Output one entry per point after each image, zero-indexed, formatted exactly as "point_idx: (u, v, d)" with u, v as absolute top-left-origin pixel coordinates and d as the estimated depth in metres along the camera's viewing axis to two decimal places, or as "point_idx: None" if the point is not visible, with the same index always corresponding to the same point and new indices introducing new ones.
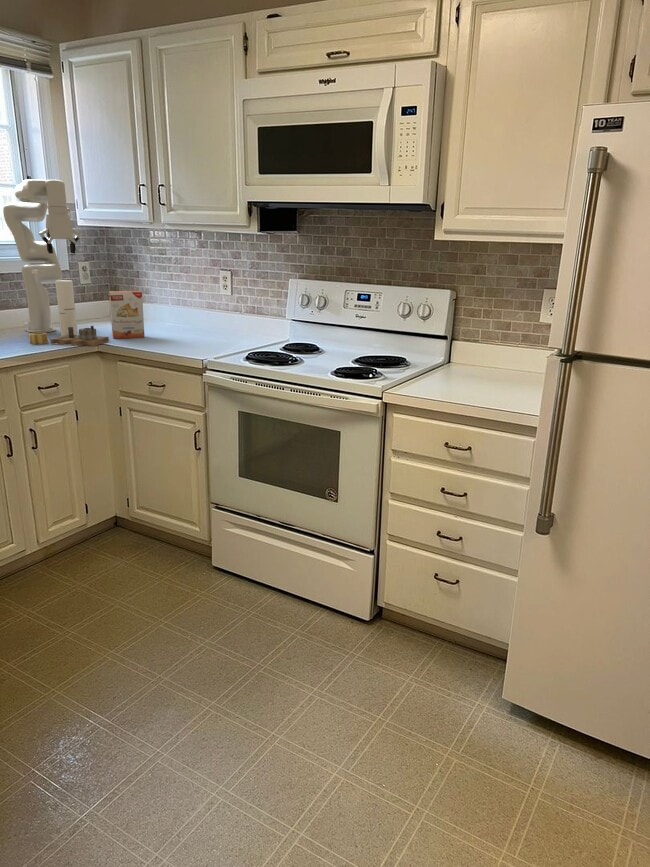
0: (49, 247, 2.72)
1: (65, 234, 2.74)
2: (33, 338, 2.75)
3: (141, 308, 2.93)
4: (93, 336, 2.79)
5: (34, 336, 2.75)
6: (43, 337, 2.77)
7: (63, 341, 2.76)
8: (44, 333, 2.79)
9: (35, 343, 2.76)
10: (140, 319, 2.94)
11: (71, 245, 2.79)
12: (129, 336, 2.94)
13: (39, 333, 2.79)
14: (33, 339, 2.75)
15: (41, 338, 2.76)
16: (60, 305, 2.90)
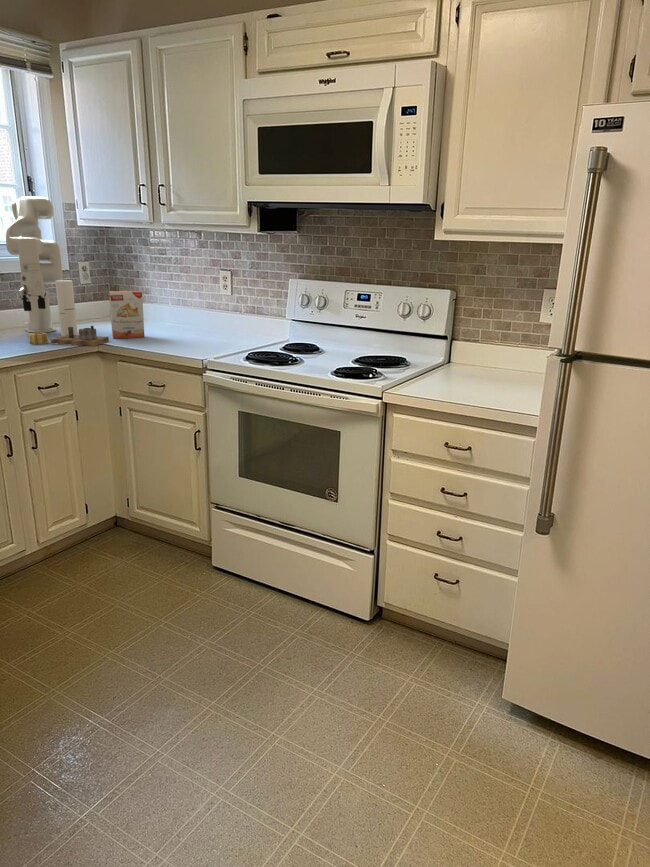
0: None
1: None
2: (33, 338, 2.75)
3: (141, 308, 2.93)
4: (93, 336, 2.79)
5: (34, 336, 2.75)
6: (43, 337, 2.77)
7: (63, 341, 2.76)
8: (44, 333, 2.79)
9: (35, 343, 2.76)
10: (140, 319, 2.94)
11: None
12: (129, 336, 2.94)
13: (39, 333, 2.79)
14: (33, 339, 2.75)
15: (41, 338, 2.76)
16: (60, 305, 2.90)
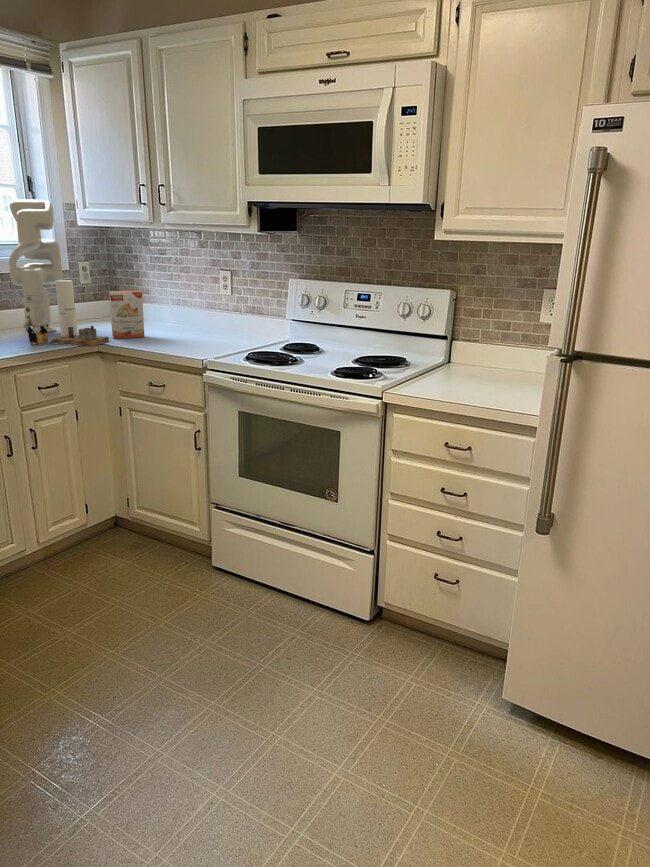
0: None
1: None
2: None
3: (141, 308, 2.93)
4: (93, 336, 2.79)
5: None
6: (43, 337, 2.77)
7: (63, 341, 2.76)
8: (44, 333, 2.78)
9: (35, 343, 2.76)
10: (140, 319, 2.94)
11: None
12: (129, 336, 2.94)
13: (39, 333, 2.79)
14: None
15: (41, 338, 2.76)
16: (60, 305, 2.90)
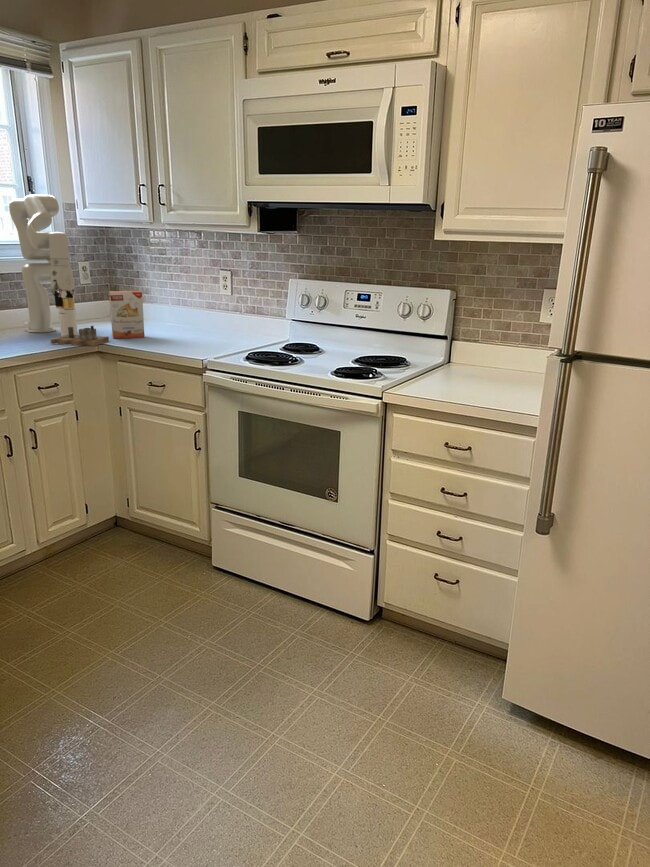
0: None
1: None
2: None
3: (141, 308, 2.93)
4: (93, 336, 2.79)
5: None
6: (69, 302, 2.75)
7: (63, 341, 2.76)
8: (70, 298, 2.77)
9: (61, 307, 2.74)
10: (140, 319, 2.94)
11: None
12: (129, 336, 2.94)
13: (65, 298, 2.78)
14: None
15: (67, 302, 2.75)
16: None
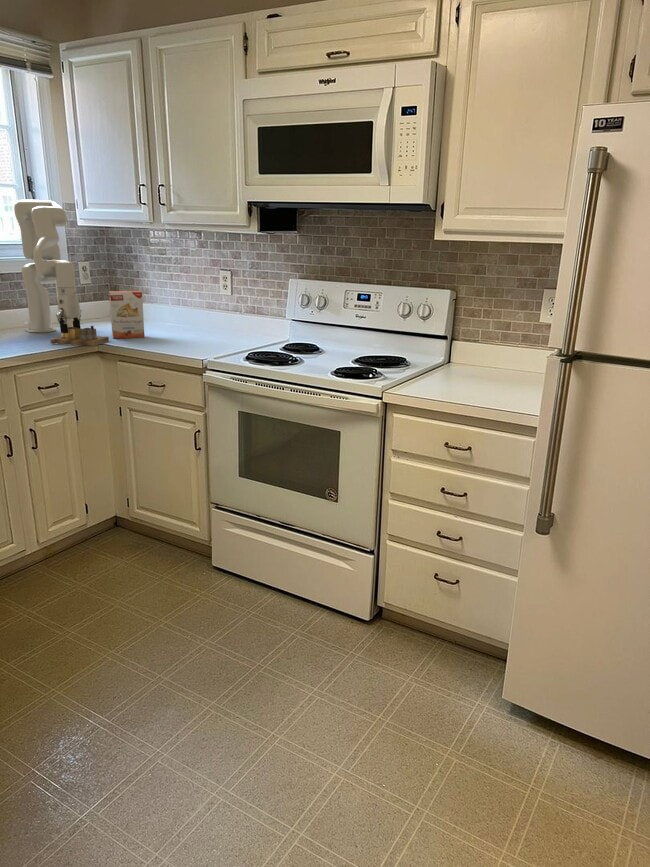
0: None
1: None
2: (66, 333, 2.78)
3: (141, 308, 2.93)
4: (93, 336, 2.79)
5: None
6: (76, 332, 2.80)
7: (63, 341, 2.76)
8: (77, 328, 2.81)
9: (68, 338, 2.79)
10: (140, 319, 2.94)
11: None
12: (129, 336, 2.94)
13: None
14: (66, 334, 2.78)
15: (74, 333, 2.79)
16: None
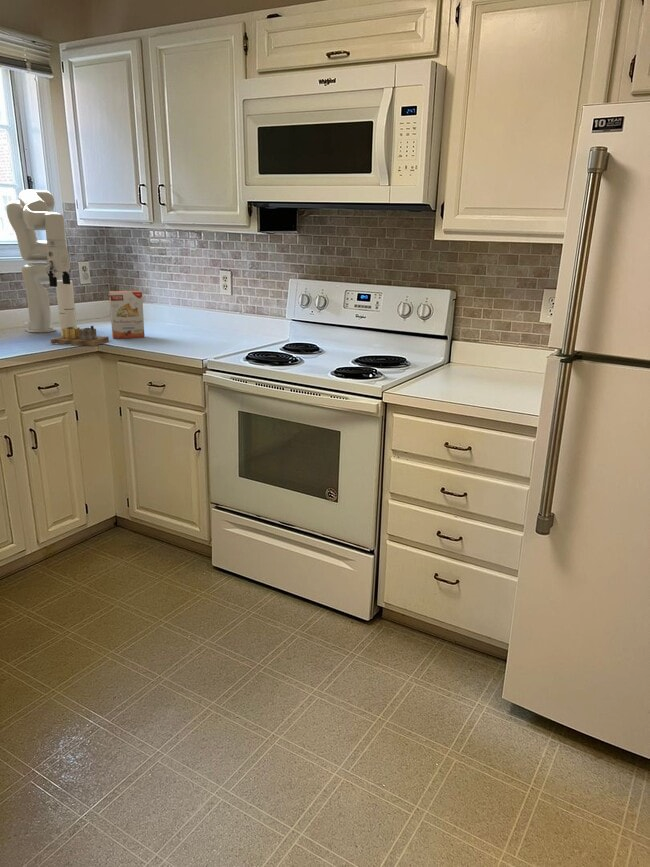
0: None
1: None
2: (66, 333, 2.78)
3: (141, 308, 2.93)
4: (93, 336, 2.79)
5: (67, 331, 2.78)
6: (76, 332, 2.80)
7: (63, 341, 2.76)
8: (77, 328, 2.81)
9: (68, 338, 2.79)
10: (140, 319, 2.94)
11: None
12: (129, 336, 2.94)
13: None
14: (66, 334, 2.78)
15: (74, 333, 2.79)
16: (60, 305, 2.90)
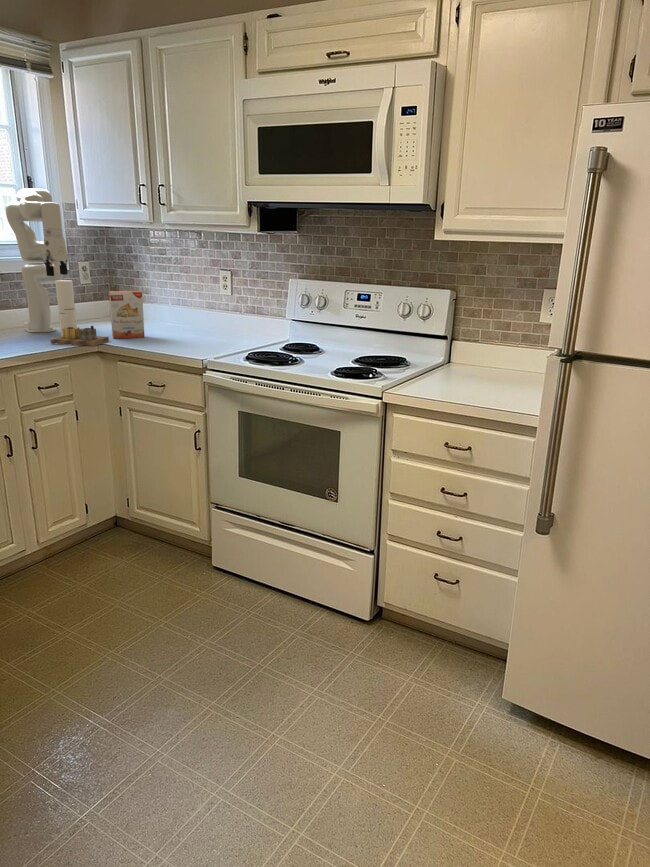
0: None
1: None
2: (66, 333, 2.78)
3: (141, 308, 2.93)
4: (93, 336, 2.79)
5: (67, 331, 2.78)
6: (76, 332, 2.80)
7: (63, 341, 2.76)
8: (77, 328, 2.81)
9: (68, 338, 2.79)
10: (140, 319, 2.94)
11: None
12: (129, 336, 2.94)
13: None
14: (66, 334, 2.78)
15: (74, 333, 2.79)
16: (60, 305, 2.90)
